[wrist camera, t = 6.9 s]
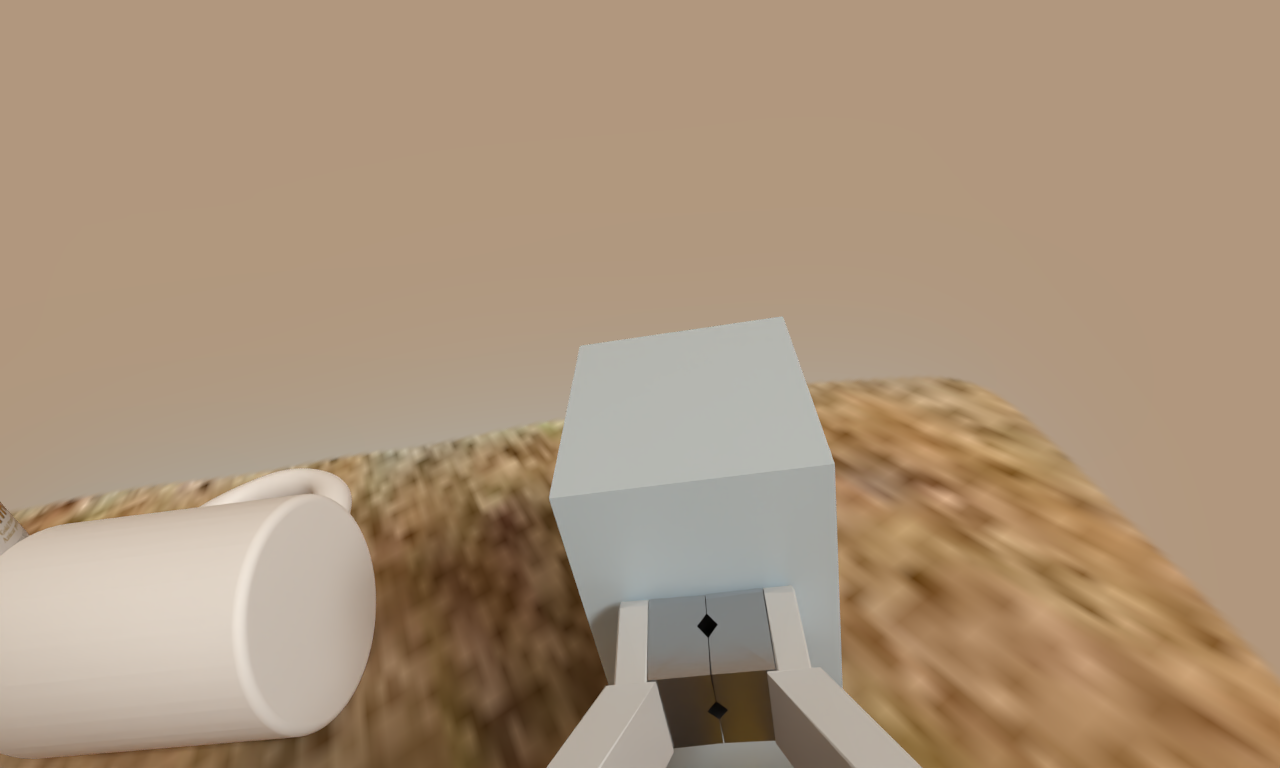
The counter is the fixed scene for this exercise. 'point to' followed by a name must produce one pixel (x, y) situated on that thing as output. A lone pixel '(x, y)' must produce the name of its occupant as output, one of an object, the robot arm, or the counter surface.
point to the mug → (187, 623)
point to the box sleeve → (699, 489)
